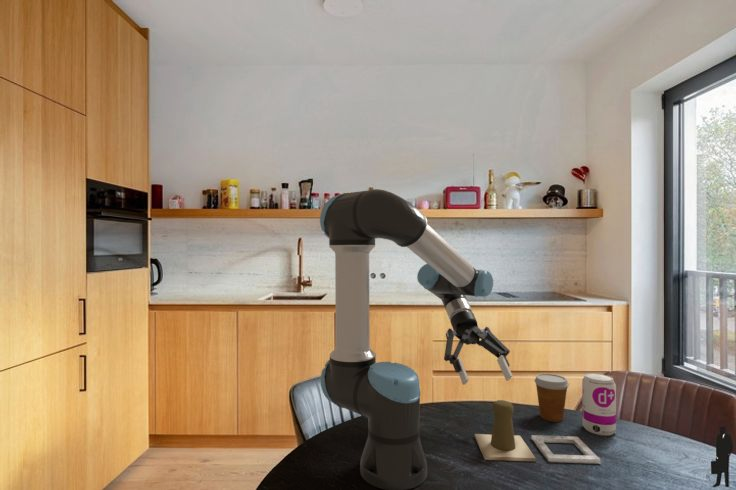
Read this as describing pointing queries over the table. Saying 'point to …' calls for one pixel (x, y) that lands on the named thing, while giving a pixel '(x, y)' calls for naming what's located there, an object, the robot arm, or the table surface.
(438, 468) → the table surface
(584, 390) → the supplement can
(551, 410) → the disposable coffee cup
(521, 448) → the birch board
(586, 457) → the shaker dock
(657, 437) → the table surface
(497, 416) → the cork
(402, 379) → the robot arm
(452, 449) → the table surface
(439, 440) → the table surface
